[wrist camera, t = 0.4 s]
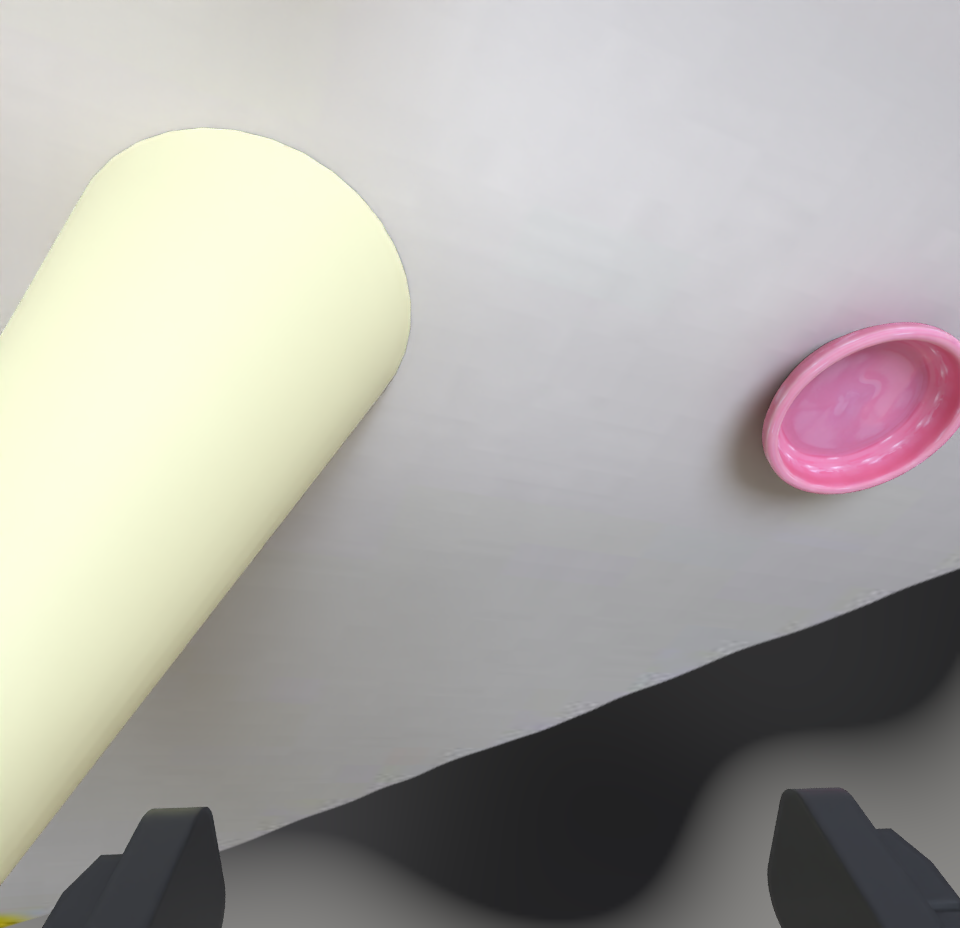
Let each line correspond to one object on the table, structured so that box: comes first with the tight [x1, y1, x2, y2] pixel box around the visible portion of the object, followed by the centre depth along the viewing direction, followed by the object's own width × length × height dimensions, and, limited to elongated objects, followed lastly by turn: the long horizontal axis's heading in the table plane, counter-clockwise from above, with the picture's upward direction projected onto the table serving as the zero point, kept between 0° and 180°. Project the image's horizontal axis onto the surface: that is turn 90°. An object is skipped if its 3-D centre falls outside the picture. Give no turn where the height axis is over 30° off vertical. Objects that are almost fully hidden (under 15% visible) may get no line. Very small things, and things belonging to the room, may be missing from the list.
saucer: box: [762, 322, 960, 494], centre depth 41 cm, size 12×12×3 cm
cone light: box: [0, 128, 411, 885], centre depth 24 cm, size 25×18×35 cm
